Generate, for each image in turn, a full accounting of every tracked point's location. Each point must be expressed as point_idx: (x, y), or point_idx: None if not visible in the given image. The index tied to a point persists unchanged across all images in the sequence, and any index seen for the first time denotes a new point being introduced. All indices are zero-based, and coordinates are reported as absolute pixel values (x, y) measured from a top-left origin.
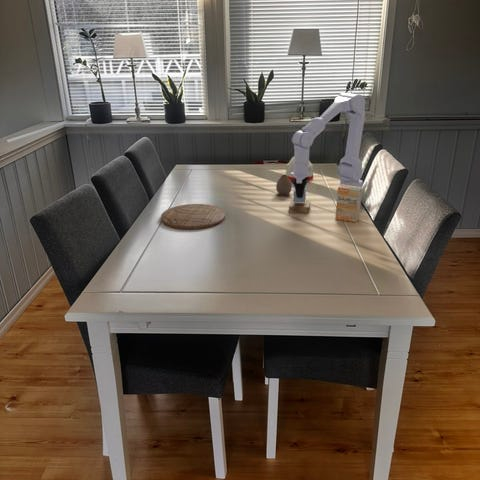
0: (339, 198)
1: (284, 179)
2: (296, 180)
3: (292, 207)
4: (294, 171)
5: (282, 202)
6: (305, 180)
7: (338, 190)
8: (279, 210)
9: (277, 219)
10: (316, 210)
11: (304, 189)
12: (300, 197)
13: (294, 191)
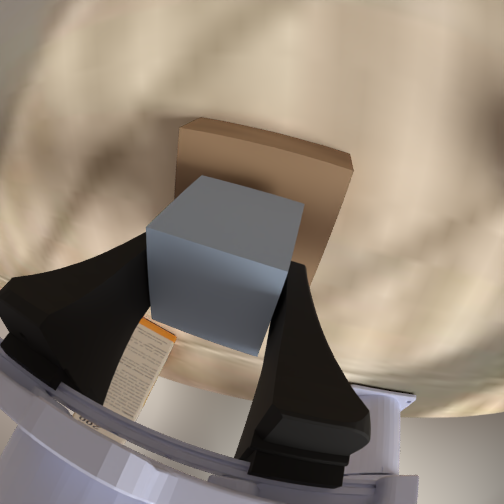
0: None
1: None
2: (44, 351)
3: (180, 153)
4: (11, 475)
5: (438, 109)
6: (246, 427)
7: (73, 415)
8: (241, 51)
9: (85, 56)
10: None
11: (216, 337)
12: None
13: (146, 235)
